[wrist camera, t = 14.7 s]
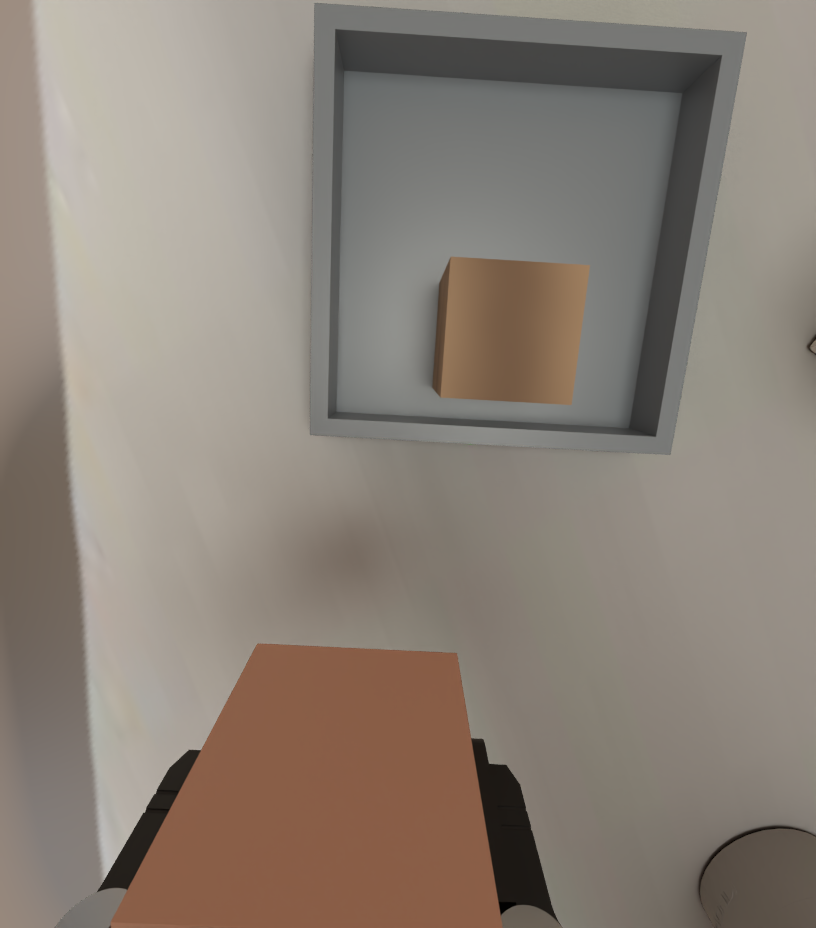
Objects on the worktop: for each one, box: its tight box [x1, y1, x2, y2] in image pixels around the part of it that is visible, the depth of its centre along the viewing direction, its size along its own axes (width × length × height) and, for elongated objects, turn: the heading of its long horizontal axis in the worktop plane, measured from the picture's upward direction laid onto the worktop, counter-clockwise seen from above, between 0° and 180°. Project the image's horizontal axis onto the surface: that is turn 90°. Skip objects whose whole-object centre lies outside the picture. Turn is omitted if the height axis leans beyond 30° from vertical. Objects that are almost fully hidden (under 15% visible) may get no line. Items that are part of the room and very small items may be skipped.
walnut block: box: [432, 257, 590, 405], centre depth 20 cm, size 5×5×6 cm
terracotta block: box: [111, 644, 503, 928], centre depth 9 cm, size 5×5×6 cm
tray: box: [310, 3, 747, 455], centre depth 22 cm, size 17×17×4 cm
